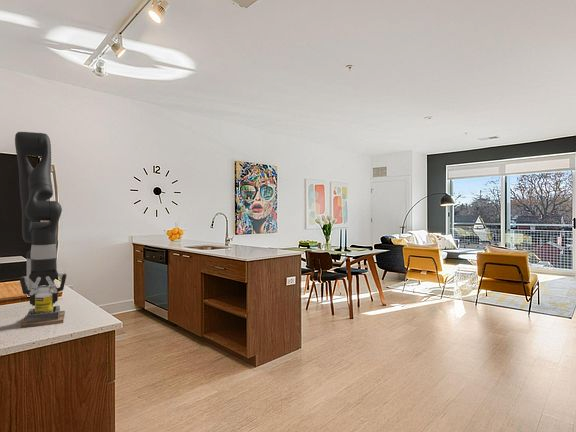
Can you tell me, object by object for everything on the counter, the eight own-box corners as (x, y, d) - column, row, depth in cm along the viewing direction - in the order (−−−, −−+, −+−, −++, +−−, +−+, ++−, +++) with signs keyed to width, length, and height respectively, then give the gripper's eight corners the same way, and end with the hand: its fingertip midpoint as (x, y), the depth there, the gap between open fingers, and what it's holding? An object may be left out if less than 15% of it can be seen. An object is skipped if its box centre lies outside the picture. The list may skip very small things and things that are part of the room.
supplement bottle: (33, 316, 120) (33, 288, 120) (36, 312, 125) (36, 285, 125) (52, 314, 123) (52, 287, 122) (54, 310, 127) (54, 284, 127)
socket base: (25, 317, 126) (25, 308, 126) (64, 313, 132) (64, 304, 132) (20, 328, 116) (20, 317, 115) (63, 322, 122) (63, 312, 121)
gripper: (68, 254, 130) (68, 299, 131) (20, 256, 123) (20, 304, 123) (67, 257, 124) (67, 304, 124) (16, 259, 116) (16, 309, 117)
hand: (44, 303), depth 124 cm, fingers closed on supplement bottle, 5 cm apart
